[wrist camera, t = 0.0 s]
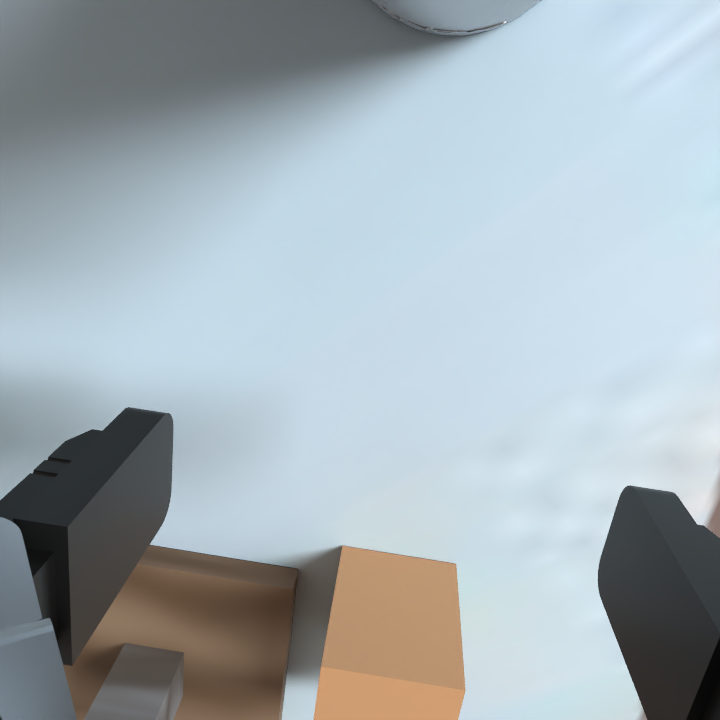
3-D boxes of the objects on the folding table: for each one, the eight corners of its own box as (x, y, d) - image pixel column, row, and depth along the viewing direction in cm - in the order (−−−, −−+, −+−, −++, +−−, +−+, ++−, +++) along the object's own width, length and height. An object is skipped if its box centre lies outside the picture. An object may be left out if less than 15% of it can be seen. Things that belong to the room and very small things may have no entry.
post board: (35, 526, 34) (-62, 635, 28) (298, 569, 34) (266, 690, 27) (50, 715, 40) (-28, 846, 33) (277, 754, 39) (246, 895, 32)
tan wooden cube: (342, 545, 33) (320, 666, 26) (456, 564, 33) (465, 690, 26) (330, 632, 35) (307, 765, 28) (436, 650, 35) (440, 788, 28)
